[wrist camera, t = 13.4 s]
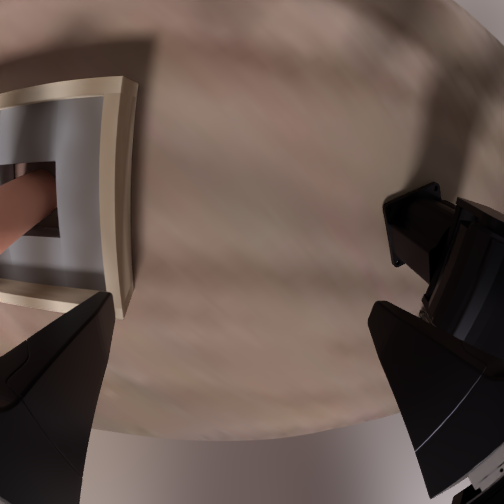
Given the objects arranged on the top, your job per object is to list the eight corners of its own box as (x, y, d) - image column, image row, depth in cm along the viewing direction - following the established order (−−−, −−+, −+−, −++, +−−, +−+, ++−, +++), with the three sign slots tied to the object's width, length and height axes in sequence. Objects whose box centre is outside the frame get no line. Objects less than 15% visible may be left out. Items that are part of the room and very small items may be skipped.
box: (-8, 273, 20) (-29, 295, 16) (-24, 107, 13) (-53, 110, 10) (133, 290, 23) (123, 319, 19) (138, 83, 16) (122, 75, 13)
